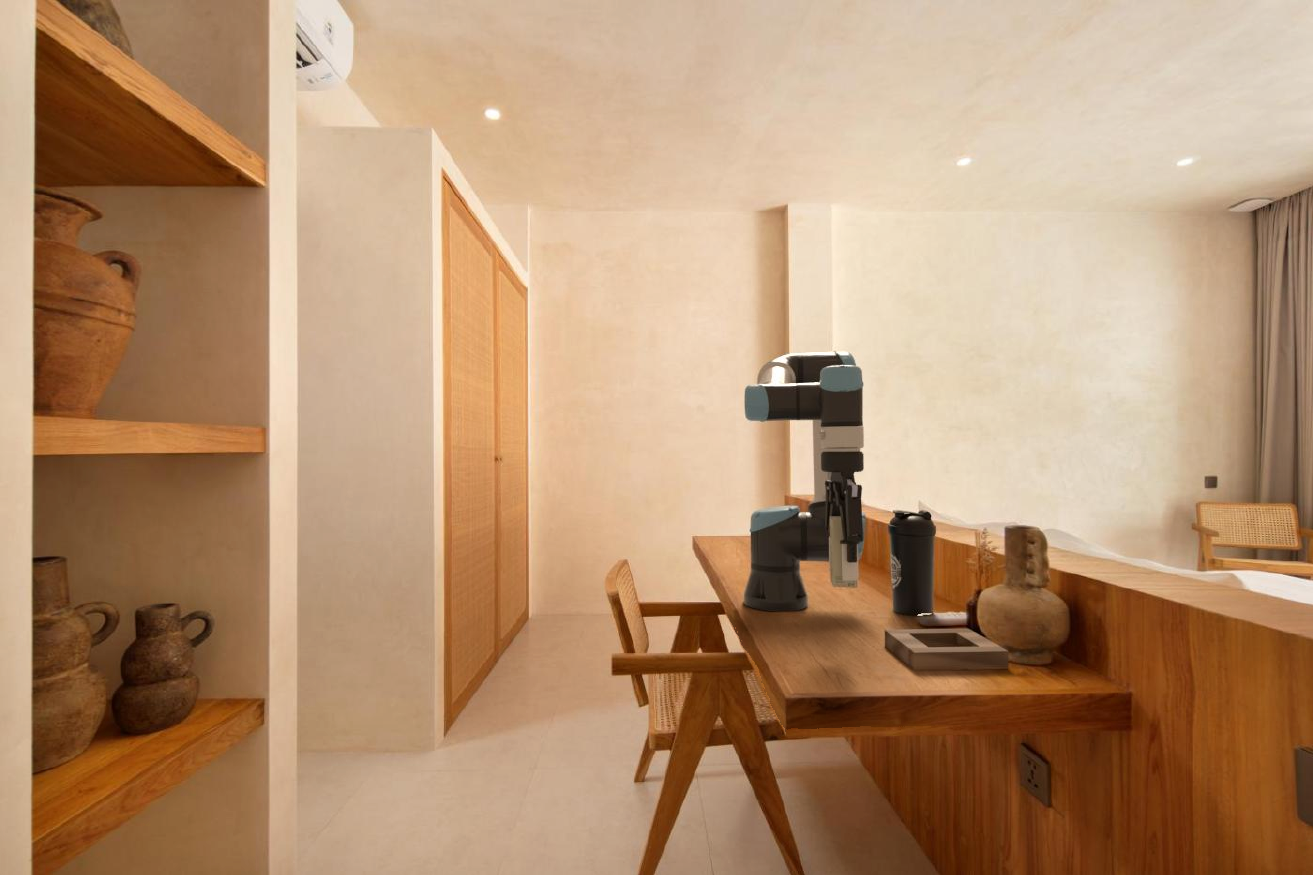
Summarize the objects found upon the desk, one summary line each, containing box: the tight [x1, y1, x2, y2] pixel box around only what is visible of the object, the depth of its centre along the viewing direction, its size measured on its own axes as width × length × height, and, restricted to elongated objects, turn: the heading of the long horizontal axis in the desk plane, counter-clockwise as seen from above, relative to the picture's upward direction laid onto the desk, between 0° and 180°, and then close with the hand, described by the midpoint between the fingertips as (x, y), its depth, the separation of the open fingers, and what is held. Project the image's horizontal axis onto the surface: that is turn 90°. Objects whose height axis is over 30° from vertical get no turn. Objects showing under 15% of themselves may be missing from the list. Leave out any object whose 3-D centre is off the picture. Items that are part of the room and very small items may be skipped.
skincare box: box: [829, 516, 858, 589], centre depth 113 cm, size 6×4×12 cm
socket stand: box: [884, 628, 1010, 671], centre depth 111 cm, size 13×16×3 cm
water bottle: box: [887, 509, 937, 617], centre depth 141 cm, size 10×10×23 cm
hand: (843, 575), depth 113 cm, fingers closed on skincare box, 7 cm apart
